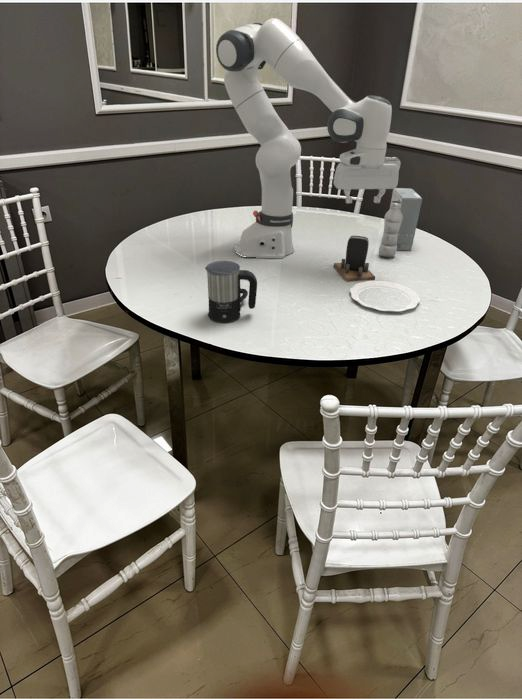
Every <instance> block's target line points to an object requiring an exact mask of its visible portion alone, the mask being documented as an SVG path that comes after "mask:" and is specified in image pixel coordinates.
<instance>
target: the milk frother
mask: <svg viewBox="0 0 522 699" xmlns="http://www.w3.org/2000/svg"><path fill="white" fill-rule="evenodd" d="M204 269H205V271H206V274H207V276H206V277H207V292H208V293H207V295H208V313H207V316H208V318H209V320H211V321H213V322H215V323H219V324H221V323H222V324H228V323H233V322H235V321H237V320H239V318H240V317H241V307H242V306H241V305H242V302H243V301H244V300H245V299H247V297H248V302H247V305H248V308H249V309H250V310H252V309H255V308H256V303H257V302H256V300H257V290H258V280H257V277H256V275H255V274H254V273H253V272H252V271H250V270H246V269H241V266H240V265H239V263H237V262H234V261H230V260H218V261H213V262H210V263H208V264H207V265H206V266H205V267H204ZM241 280H243V281H248V283H249V287H248V288H249V289H246V288H241Z"/></svg>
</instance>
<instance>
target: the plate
mask: <svg viewBox="0 0 522 699" xmlns="http://www.w3.org/2000/svg"><path fill="white" fill-rule="evenodd" d="M369 289H387V290H390V291H394V292H397V293H400V294H402V295H403V296H404V297H406V299H407V300H408V301H409V300H410V303H409V302H408V304H409V305H408V304H407V305H406V306H405V307H403V308H399V309H386V308H385V309H384V308H379V307H374V306H372V305H369V304H366V303H364V302H363V301H362V300H361V299H360V298H359V296H360V293H361V292H363V291H366V290H369ZM349 293H350V296H351V299H353V300H354V301H355V302H358V303H359V304H360V305H361V306H363V307H366V308H370V309H373V310H377V311H380V312H398V313H399V312H405V311H407V310H413V309H415V308H417V305H418V304H419V303H420V302H421V299H420V297H419V295H418V293H417V292H416V291H414V290H413V289H410V288H409V287H407V286H405V285H402V284H399V283H395V282H391V281H387V280H366V281H363V282H362V281H361V282H358V283H355V284H354V286H352V287H351V288H350V289H349Z"/></svg>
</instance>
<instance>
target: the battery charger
mask: <svg viewBox="0 0 522 699" xmlns="http://www.w3.org/2000/svg"><path fill="white" fill-rule="evenodd" d="M369 243H370V241H369V237H367V236H361V235H350V236H349V238H348V241H347V244H346V251H345V252H346V253H345V267H344V268H345V269H346V264H350V268H349V270H354V271H359V267H363V270H362V271H364V269H365V263H367V262H366V260H367V258H368V252H369V246H370V245H369Z"/></svg>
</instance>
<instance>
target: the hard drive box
mask: <svg viewBox="0 0 522 699" xmlns="http://www.w3.org/2000/svg"><path fill="white" fill-rule="evenodd" d="M391 194H392V195H391V200H390V203H391V202H392V201H400V202H402V204H401V208H400V211H401V213H402V215H403V219H402V223H401V226H400V229H399V233H398V238H397V251H409V252H410V251H412V249H413V243H414V239H415V236H416V230H417V225H418V221H419V216H420V212H421V207H422V202H423V198H422V197H421V195H419V194H418V193H417V191H415V190H414V189H413V188H407V187H406V188H405V187H404V188H403V187H396V188H395V189H392V193H391ZM390 209H391V207H390V206H389V210H390Z"/></svg>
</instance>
